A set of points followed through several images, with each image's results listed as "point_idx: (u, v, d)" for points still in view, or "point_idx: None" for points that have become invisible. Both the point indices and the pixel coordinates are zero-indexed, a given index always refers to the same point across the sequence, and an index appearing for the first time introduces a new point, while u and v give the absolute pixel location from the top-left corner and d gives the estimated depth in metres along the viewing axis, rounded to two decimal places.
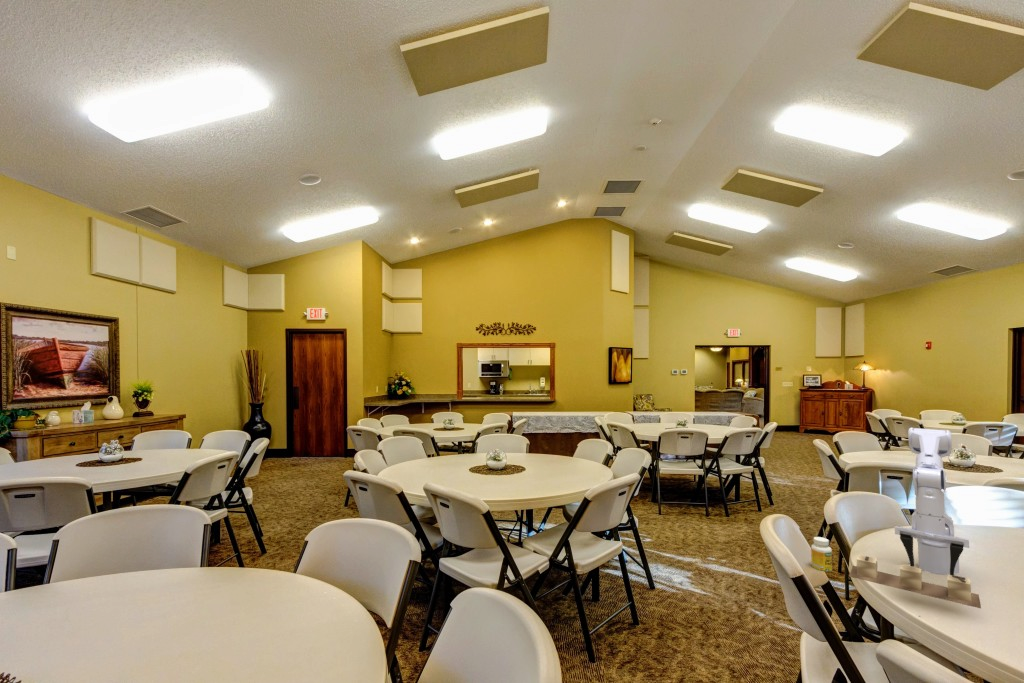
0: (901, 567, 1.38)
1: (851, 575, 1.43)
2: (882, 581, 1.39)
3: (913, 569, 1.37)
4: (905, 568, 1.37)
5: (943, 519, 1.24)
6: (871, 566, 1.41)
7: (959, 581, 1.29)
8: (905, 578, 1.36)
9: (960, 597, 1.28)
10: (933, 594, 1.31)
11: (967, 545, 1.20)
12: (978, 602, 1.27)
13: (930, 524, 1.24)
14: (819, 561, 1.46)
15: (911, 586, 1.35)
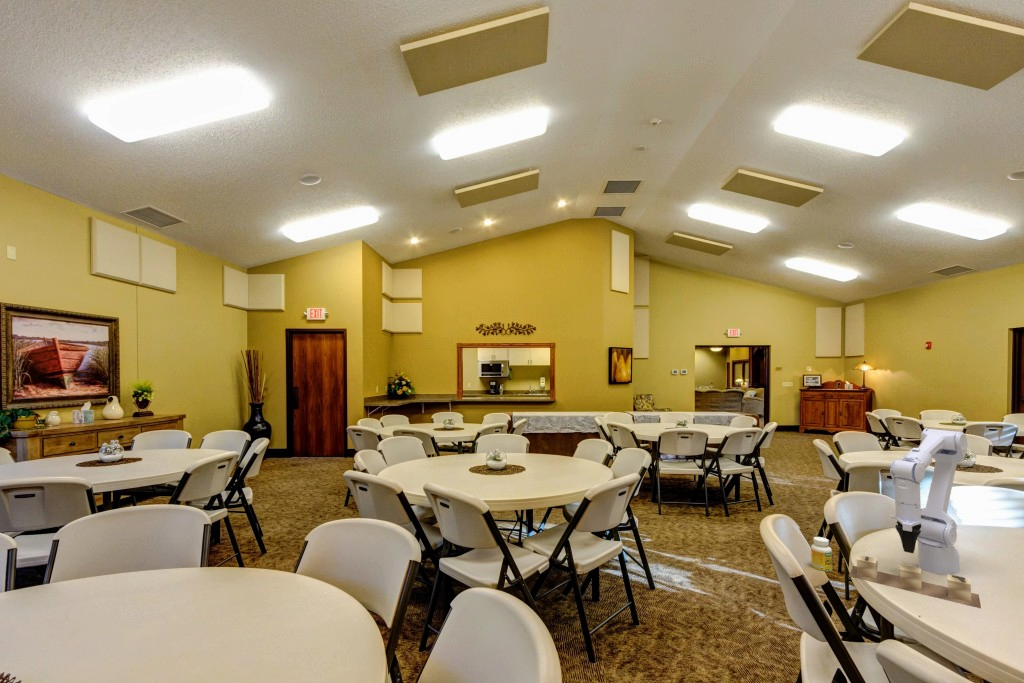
0: (901, 567, 1.38)
1: (851, 575, 1.43)
2: (882, 581, 1.39)
3: (913, 569, 1.37)
4: (905, 568, 1.37)
5: (902, 505, 1.40)
6: (871, 566, 1.41)
7: (959, 581, 1.29)
8: (905, 578, 1.36)
9: (960, 597, 1.28)
10: (933, 594, 1.31)
11: (902, 527, 1.36)
12: (978, 602, 1.27)
13: None
14: (819, 561, 1.46)
15: (911, 586, 1.35)
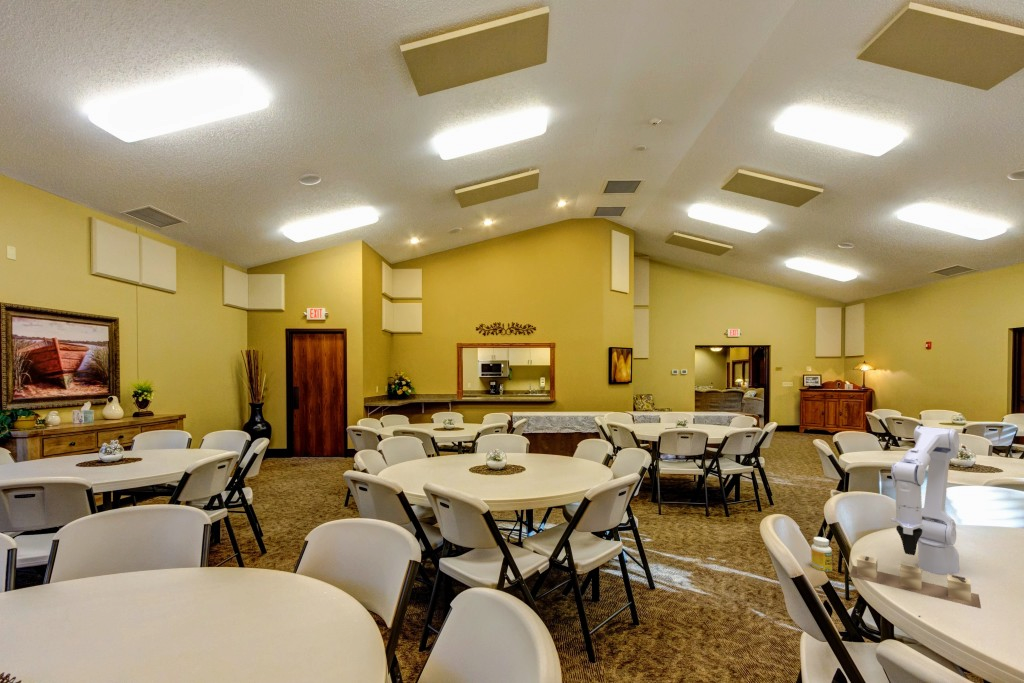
0: (901, 567, 1.38)
1: (851, 575, 1.43)
2: (882, 581, 1.39)
3: (913, 569, 1.37)
4: (905, 568, 1.37)
5: (903, 508, 1.37)
6: (871, 566, 1.41)
7: (959, 581, 1.29)
8: (905, 578, 1.36)
9: (960, 597, 1.28)
10: (933, 594, 1.31)
11: (903, 531, 1.33)
12: (978, 602, 1.27)
13: (896, 511, 1.40)
14: (819, 561, 1.46)
15: (911, 586, 1.35)
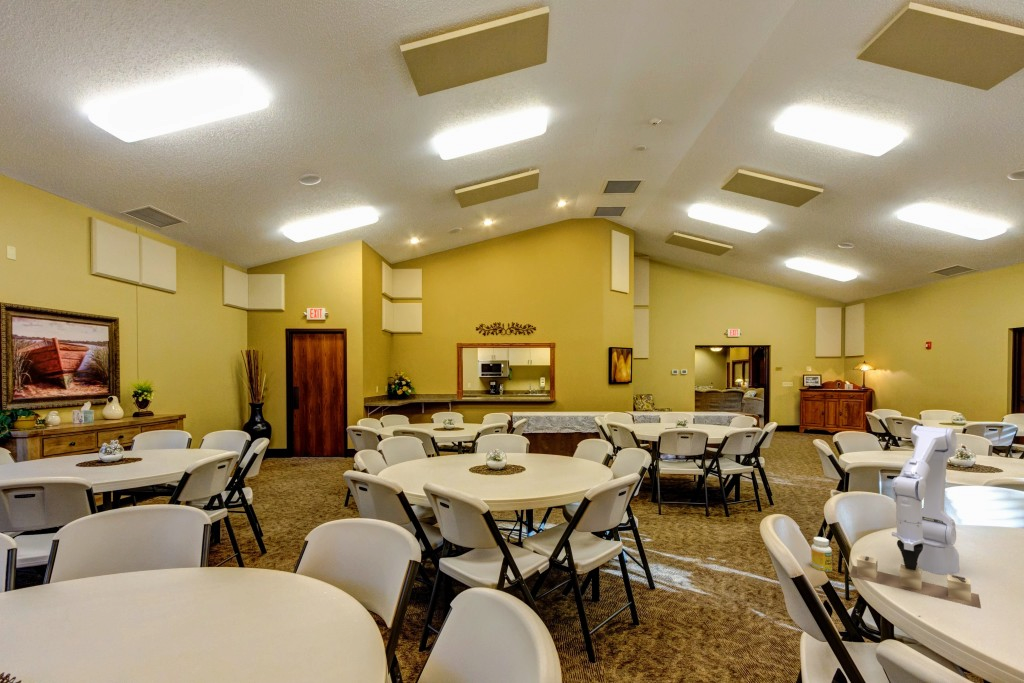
0: (901, 567, 1.38)
1: (851, 575, 1.43)
2: (882, 581, 1.39)
3: None
4: (905, 568, 1.37)
5: (904, 523, 1.36)
6: (871, 566, 1.41)
7: (959, 581, 1.29)
8: (905, 578, 1.36)
9: (960, 597, 1.28)
10: (933, 594, 1.31)
11: (904, 546, 1.33)
12: (978, 602, 1.27)
13: None
14: (819, 561, 1.46)
15: (911, 586, 1.35)
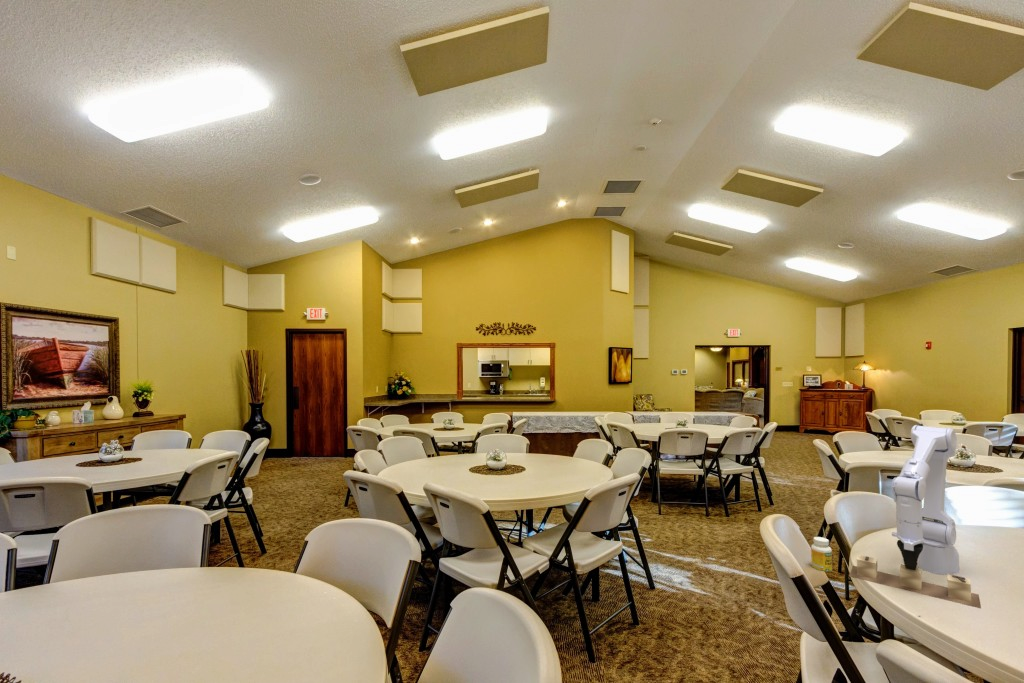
0: (901, 567, 1.38)
1: (851, 575, 1.43)
2: (882, 581, 1.39)
3: None
4: (905, 568, 1.37)
5: (904, 523, 1.36)
6: (871, 566, 1.41)
7: (959, 581, 1.29)
8: (905, 578, 1.36)
9: (960, 597, 1.28)
10: (933, 594, 1.31)
11: (904, 546, 1.33)
12: (978, 602, 1.27)
13: None
14: (819, 561, 1.46)
15: (911, 586, 1.35)
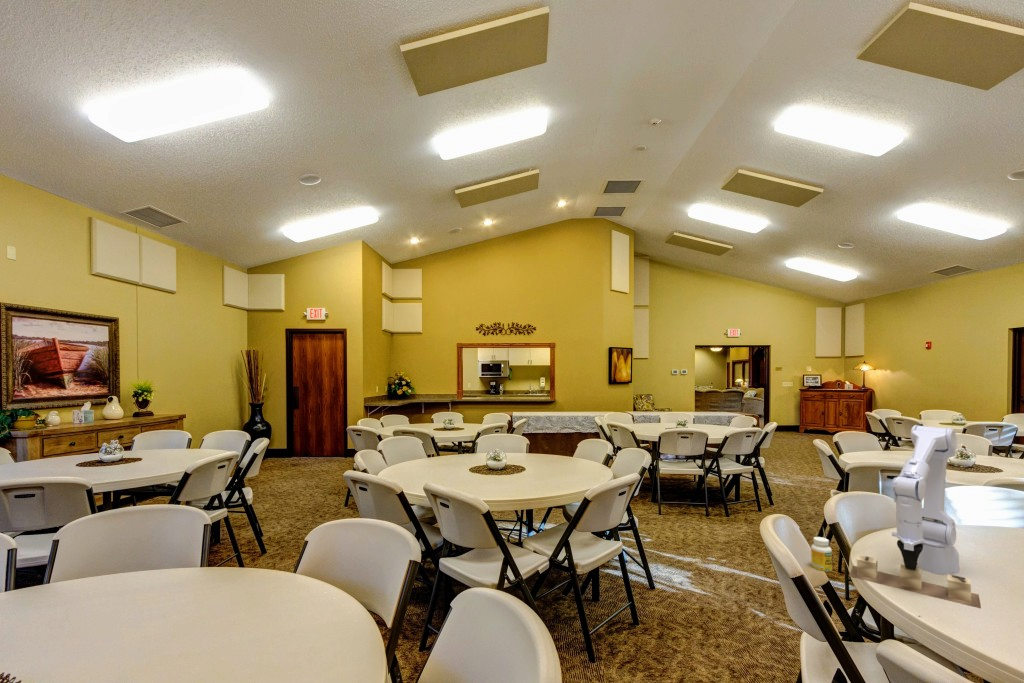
0: (901, 567, 1.38)
1: (851, 575, 1.43)
2: (882, 581, 1.39)
3: None
4: (905, 568, 1.37)
5: (904, 523, 1.36)
6: (871, 566, 1.41)
7: (959, 581, 1.29)
8: (905, 578, 1.36)
9: (960, 597, 1.28)
10: (933, 594, 1.31)
11: (904, 546, 1.33)
12: (978, 602, 1.27)
13: None
14: (819, 561, 1.46)
15: (911, 586, 1.35)
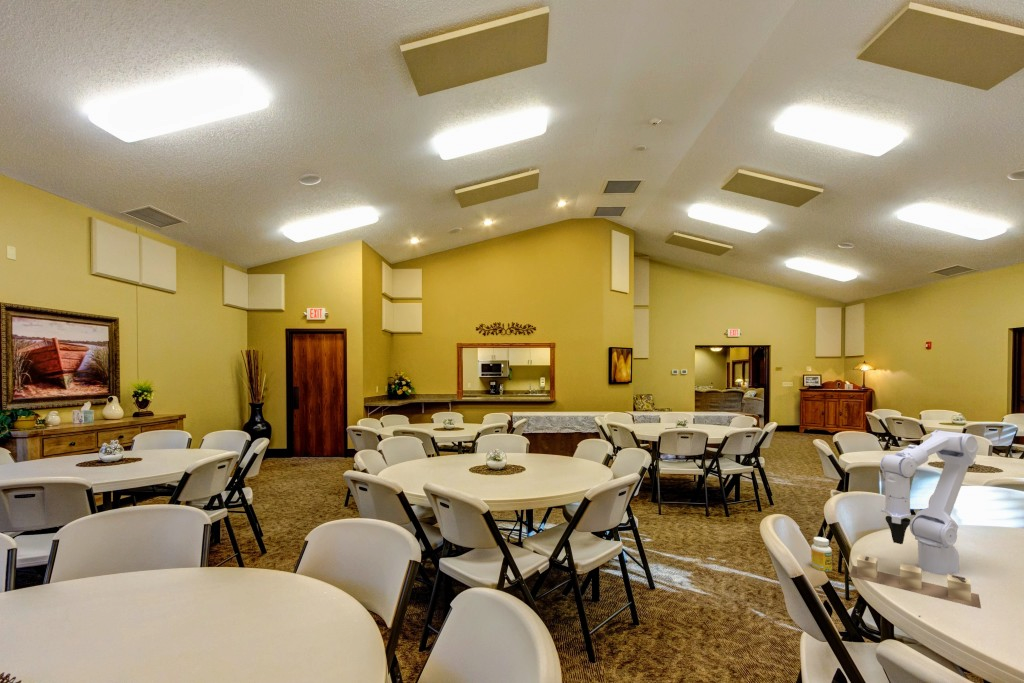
0: (901, 567, 1.38)
1: (851, 575, 1.43)
2: (882, 581, 1.39)
3: (913, 569, 1.37)
4: (905, 568, 1.37)
5: (892, 498, 1.43)
6: (871, 566, 1.41)
7: (959, 581, 1.29)
8: (905, 578, 1.36)
9: (960, 597, 1.28)
10: (933, 594, 1.31)
11: (891, 520, 1.39)
12: (978, 602, 1.27)
13: None
14: (819, 561, 1.46)
15: (911, 586, 1.35)
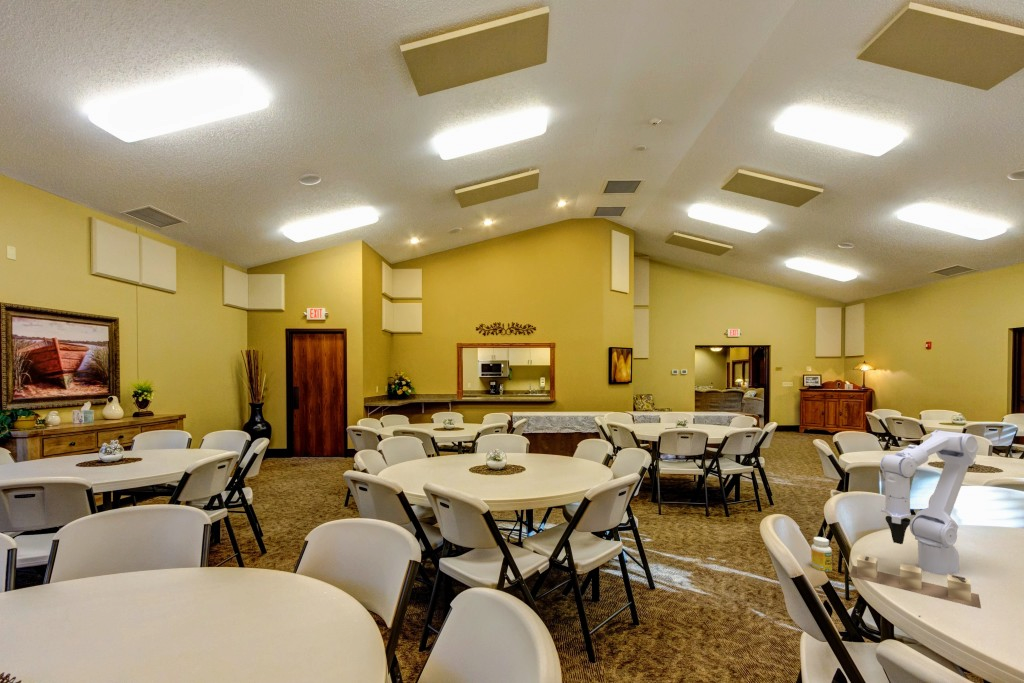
0: (901, 567, 1.38)
1: (851, 575, 1.43)
2: (882, 581, 1.39)
3: (913, 569, 1.37)
4: (905, 568, 1.37)
5: (892, 498, 1.43)
6: (871, 566, 1.41)
7: (959, 581, 1.29)
8: (905, 578, 1.36)
9: (960, 597, 1.28)
10: (933, 594, 1.31)
11: (891, 520, 1.39)
12: (978, 602, 1.27)
13: None
14: (819, 561, 1.46)
15: (911, 586, 1.35)
